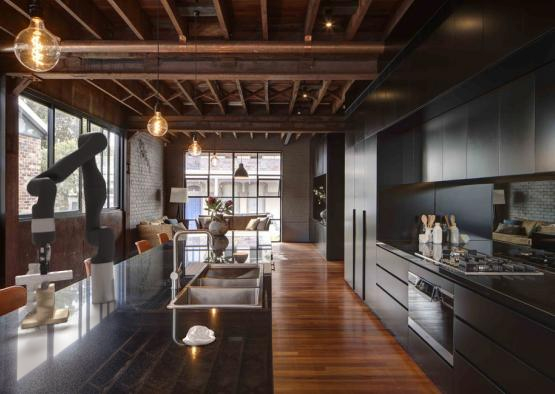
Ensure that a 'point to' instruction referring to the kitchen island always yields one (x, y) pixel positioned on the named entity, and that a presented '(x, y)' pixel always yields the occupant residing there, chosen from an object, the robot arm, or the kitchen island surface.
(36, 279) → the aluminium bar
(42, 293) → the balance stand
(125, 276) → the kitchen island surface
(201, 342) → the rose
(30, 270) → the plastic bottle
